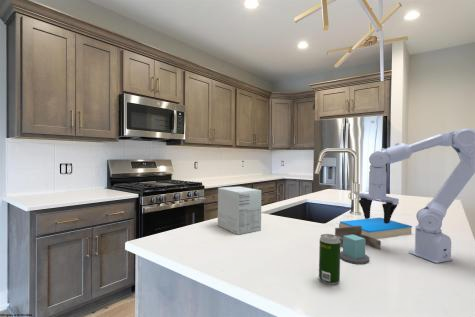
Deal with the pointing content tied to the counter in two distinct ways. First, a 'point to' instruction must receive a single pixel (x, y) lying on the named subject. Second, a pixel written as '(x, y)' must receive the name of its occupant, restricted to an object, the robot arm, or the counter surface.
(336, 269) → the beer can
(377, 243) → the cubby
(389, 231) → the book
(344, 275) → the counter surface
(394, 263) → the counter surface
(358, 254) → the block
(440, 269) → the counter surface
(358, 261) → the coaster
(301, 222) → the counter surface
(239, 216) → the supplement box
